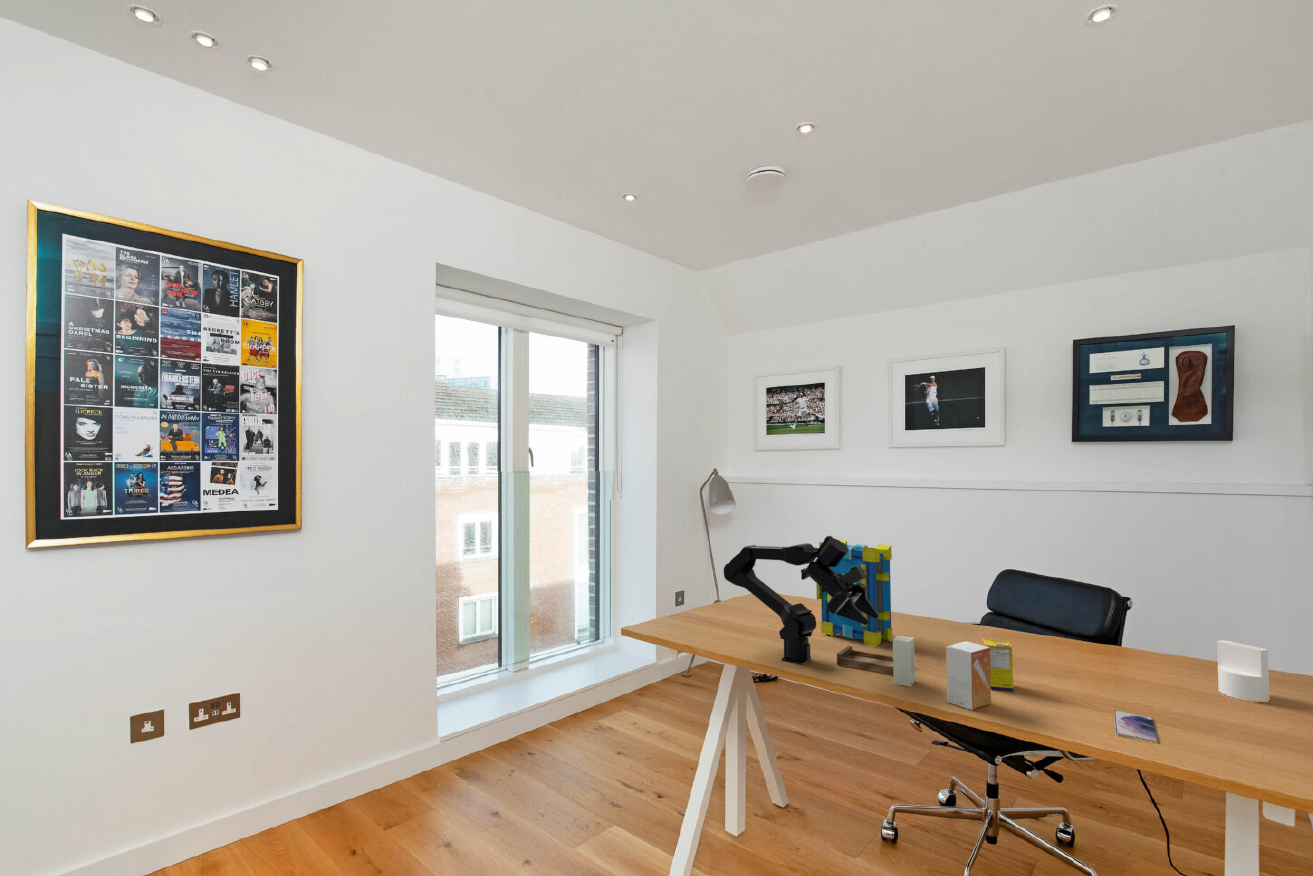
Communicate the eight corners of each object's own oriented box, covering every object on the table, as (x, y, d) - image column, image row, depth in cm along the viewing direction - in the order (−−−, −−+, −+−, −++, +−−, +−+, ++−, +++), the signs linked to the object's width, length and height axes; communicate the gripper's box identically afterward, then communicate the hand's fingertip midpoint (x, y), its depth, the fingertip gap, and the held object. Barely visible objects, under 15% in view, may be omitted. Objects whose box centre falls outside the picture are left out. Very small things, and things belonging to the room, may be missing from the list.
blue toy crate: (838, 627, 217) (837, 539, 218) (902, 642, 199) (900, 545, 200) (813, 635, 208) (811, 542, 209) (877, 650, 190) (875, 549, 191)
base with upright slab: (1210, 692, 154) (1208, 642, 155) (1231, 687, 158) (1229, 638, 159) (1257, 705, 146) (1255, 652, 147) (1278, 699, 150) (1275, 648, 150)
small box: (972, 711, 143) (971, 652, 144) (946, 702, 149) (945, 645, 149) (992, 703, 148) (990, 646, 148) (966, 695, 153) (964, 640, 154)
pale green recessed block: (893, 683, 161) (892, 639, 162) (898, 678, 166) (897, 635, 166) (910, 686, 159) (909, 642, 160) (915, 681, 163) (914, 637, 164)
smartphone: (1153, 717, 139) (1159, 742, 126) (1153, 721, 139) (1159, 746, 126) (1113, 709, 143) (1115, 732, 130) (1113, 713, 143) (1115, 737, 130)
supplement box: (1009, 684, 161) (1007, 640, 161) (1013, 692, 155) (1012, 646, 156) (982, 681, 163) (981, 638, 163) (986, 689, 157) (985, 644, 158)
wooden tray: (836, 664, 177) (836, 653, 177) (848, 656, 185) (848, 645, 185) (904, 677, 166) (904, 665, 166) (913, 667, 174) (913, 656, 174)
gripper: (833, 560, 165) (882, 604, 158) (855, 554, 180) (901, 593, 173) (807, 591, 169) (854, 635, 161) (831, 582, 184) (875, 622, 176)
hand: (872, 620), depth 168 cm, fingers open, 9 cm apart
